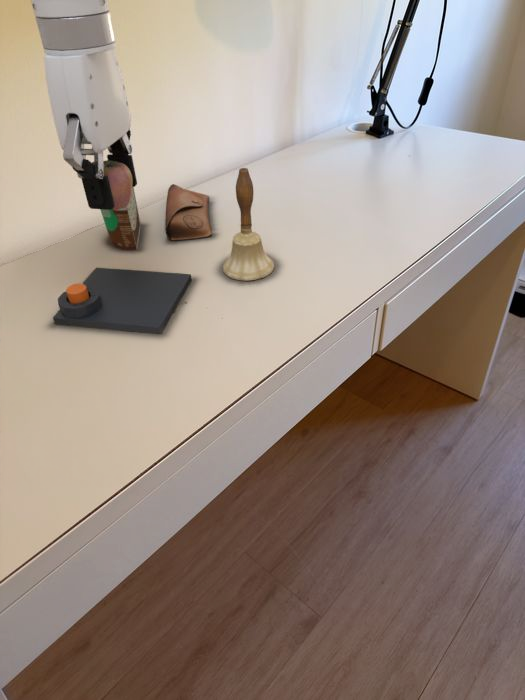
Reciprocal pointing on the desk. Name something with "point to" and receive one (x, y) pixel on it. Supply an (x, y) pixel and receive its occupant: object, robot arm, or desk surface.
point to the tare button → (77, 293)
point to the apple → (119, 182)
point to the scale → (125, 300)
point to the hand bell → (247, 239)
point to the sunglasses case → (186, 214)
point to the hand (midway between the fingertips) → (114, 195)
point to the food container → (123, 225)
